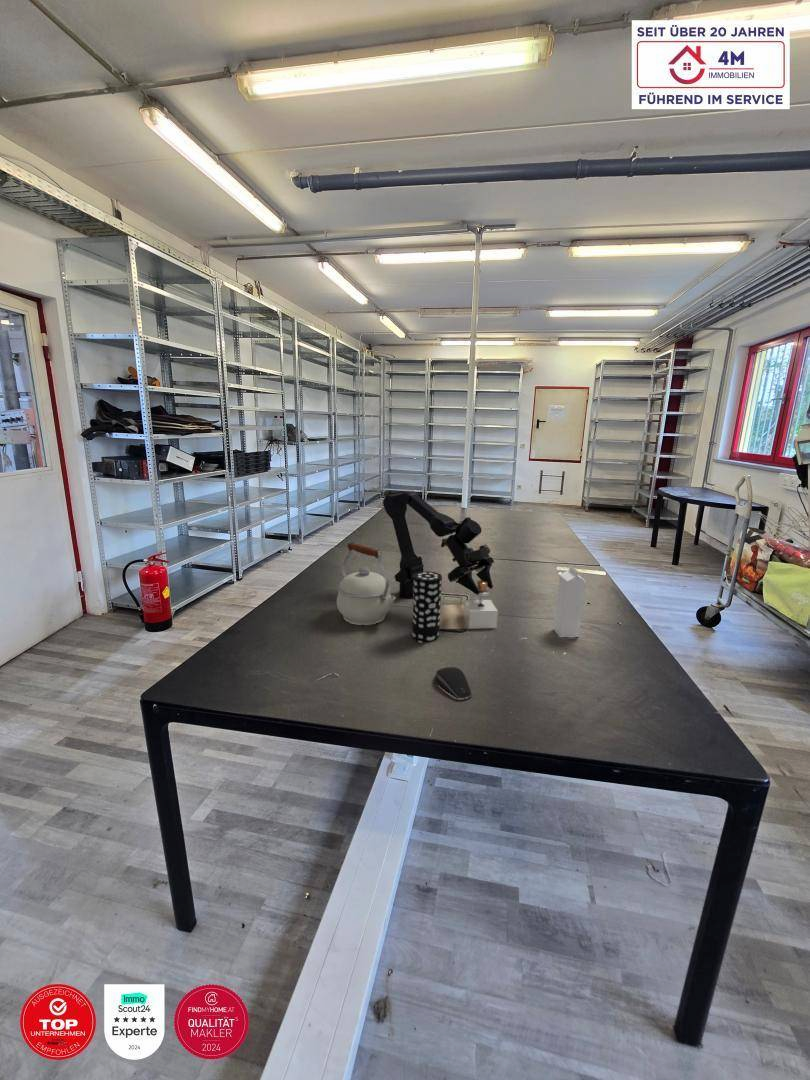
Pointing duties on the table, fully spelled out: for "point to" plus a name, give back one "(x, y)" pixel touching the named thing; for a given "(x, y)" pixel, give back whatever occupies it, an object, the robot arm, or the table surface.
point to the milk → (569, 604)
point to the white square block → (480, 614)
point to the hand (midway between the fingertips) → (485, 591)
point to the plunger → (482, 591)
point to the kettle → (364, 591)
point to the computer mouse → (453, 682)
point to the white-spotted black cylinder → (426, 606)
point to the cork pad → (452, 617)
